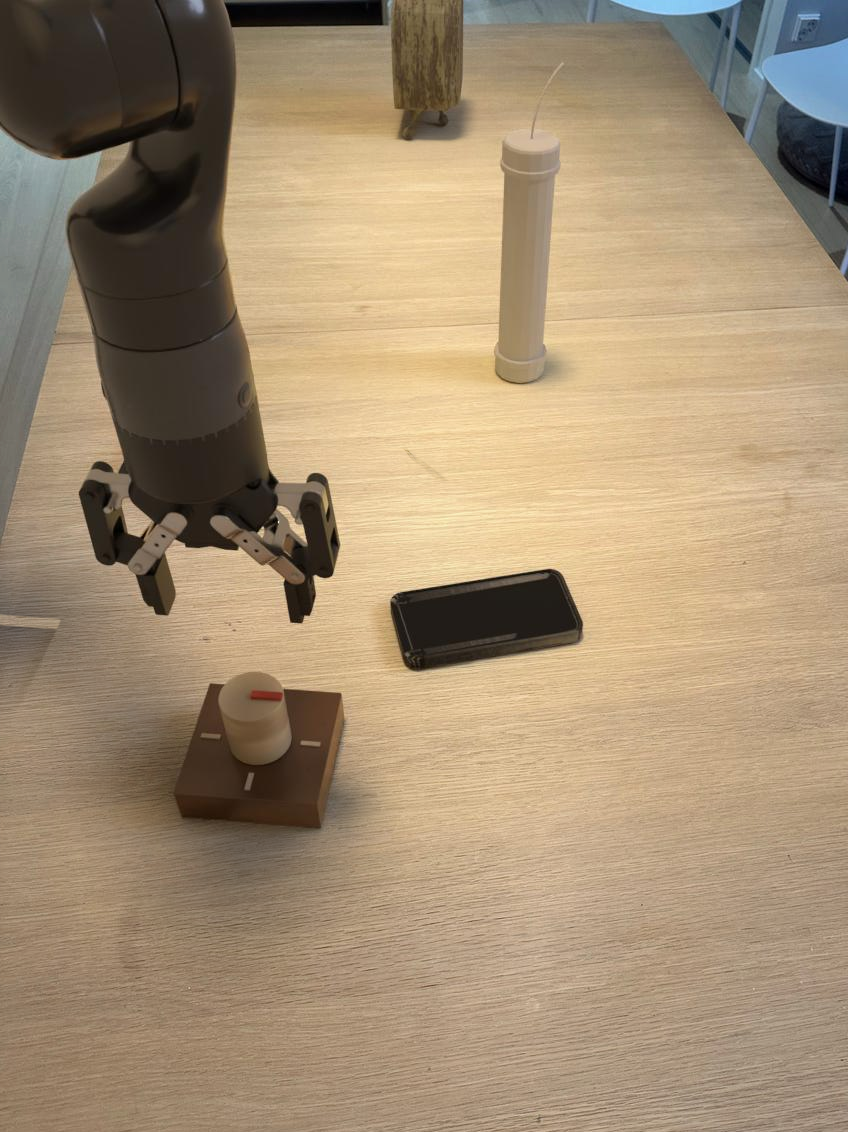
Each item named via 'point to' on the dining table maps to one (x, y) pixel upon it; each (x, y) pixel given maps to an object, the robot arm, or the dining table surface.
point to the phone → (484, 618)
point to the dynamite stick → (525, 249)
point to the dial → (255, 718)
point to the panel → (263, 766)
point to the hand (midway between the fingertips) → (232, 610)
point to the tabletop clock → (426, 56)
